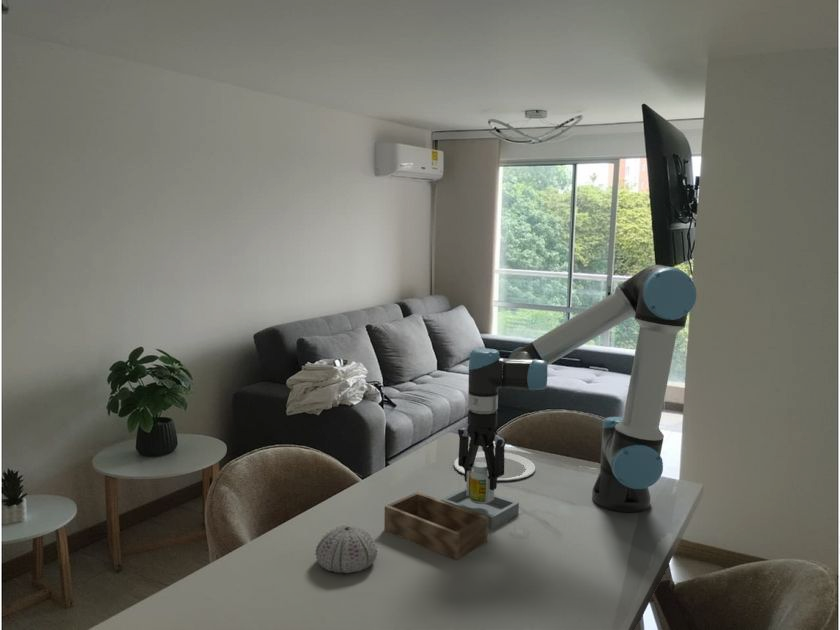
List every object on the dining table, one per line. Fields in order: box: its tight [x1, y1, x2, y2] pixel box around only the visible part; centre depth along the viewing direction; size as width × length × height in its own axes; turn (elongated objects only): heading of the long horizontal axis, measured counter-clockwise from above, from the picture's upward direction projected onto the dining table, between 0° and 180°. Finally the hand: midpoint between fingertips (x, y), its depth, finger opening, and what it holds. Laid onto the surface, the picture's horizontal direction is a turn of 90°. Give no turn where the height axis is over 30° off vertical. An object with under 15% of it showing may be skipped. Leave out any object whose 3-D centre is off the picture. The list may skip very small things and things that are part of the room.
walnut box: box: [383, 491, 489, 561], centre depth 161 cm, size 22×12×6 cm, turn 49°
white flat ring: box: [453, 450, 536, 482], centre depth 207 cm, size 25×25×1 cm
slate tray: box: [440, 487, 520, 530], centre depth 174 cm, size 16×12×3 cm
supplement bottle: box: [470, 461, 489, 504], centre depth 173 cm, size 5×5×10 cm
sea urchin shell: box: [314, 524, 378, 574], centre depth 147 cm, size 13×14×8 cm
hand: (479, 497), depth 174 cm, fingers closed on supplement bottle, 5 cm apart
